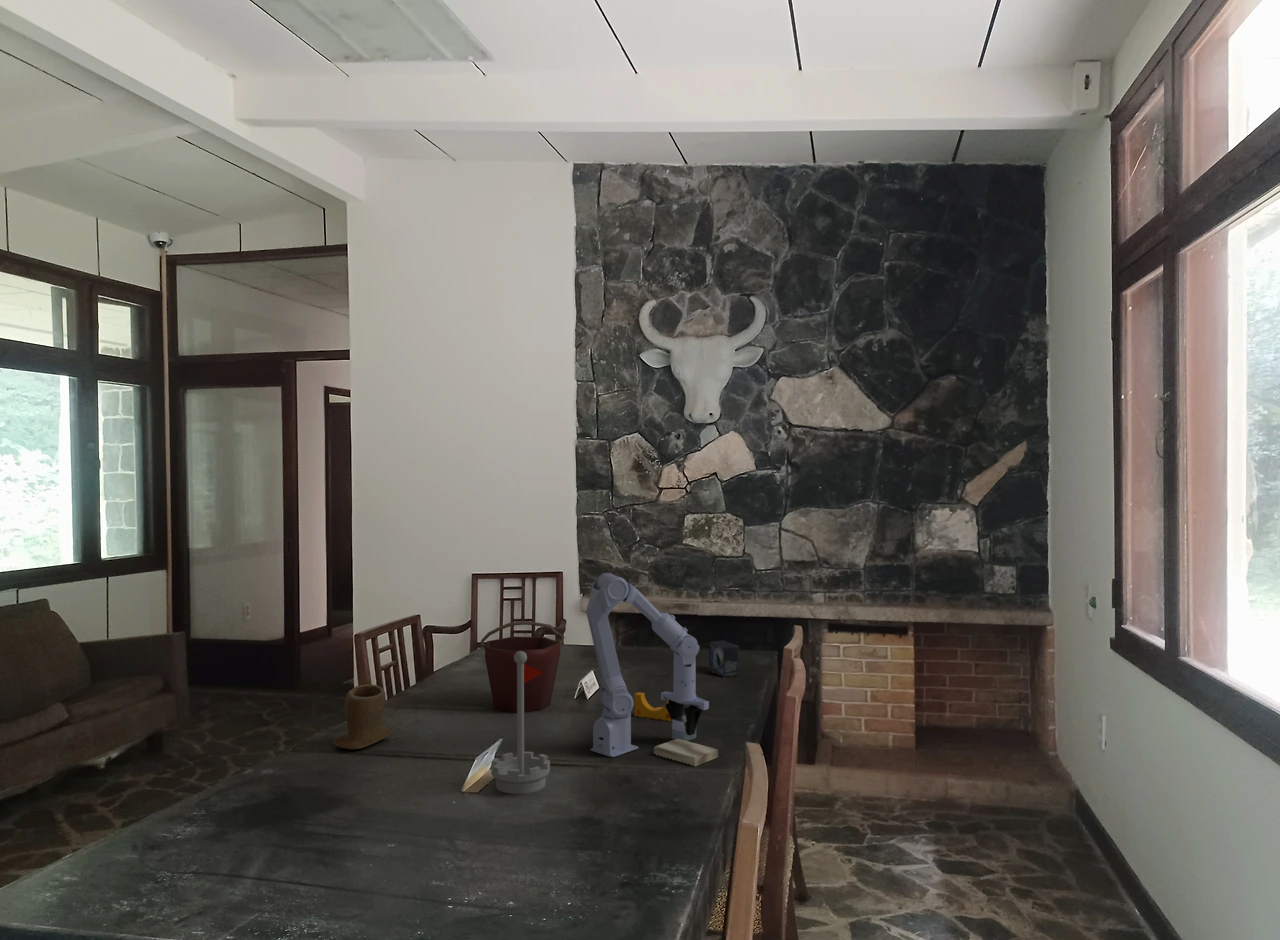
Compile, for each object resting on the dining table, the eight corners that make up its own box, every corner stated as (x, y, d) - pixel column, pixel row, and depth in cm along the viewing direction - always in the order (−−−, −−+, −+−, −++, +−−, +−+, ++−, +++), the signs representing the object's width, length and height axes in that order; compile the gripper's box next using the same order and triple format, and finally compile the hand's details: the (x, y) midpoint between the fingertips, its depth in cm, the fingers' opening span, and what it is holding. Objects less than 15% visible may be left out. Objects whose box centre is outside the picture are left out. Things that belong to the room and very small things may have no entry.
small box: (707, 671, 304) (707, 641, 304) (723, 669, 307) (723, 639, 307) (722, 678, 295) (722, 647, 295) (739, 676, 297) (739, 645, 297)
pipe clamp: (679, 717, 248) (679, 695, 248) (673, 722, 244) (673, 698, 244) (640, 713, 253) (640, 690, 253) (634, 716, 249) (634, 694, 249)
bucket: (568, 697, 270) (568, 616, 270) (555, 717, 248) (554, 629, 248) (491, 695, 273) (491, 615, 273) (471, 715, 251) (470, 628, 251)
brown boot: (362, 756, 215) (362, 695, 215) (327, 749, 221) (326, 689, 221) (404, 738, 229) (404, 681, 229) (370, 732, 234) (370, 677, 234)
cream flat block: (695, 766, 207) (694, 758, 207) (654, 754, 216) (654, 746, 216) (718, 757, 214) (718, 748, 214) (677, 745, 223) (677, 737, 223)
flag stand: (494, 798, 188) (494, 659, 188) (488, 777, 200) (488, 647, 200) (554, 792, 191) (554, 655, 191) (544, 772, 204) (544, 643, 204)
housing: (684, 741, 222) (684, 722, 222) (672, 738, 225) (672, 719, 225) (696, 737, 226) (696, 718, 226) (684, 734, 229) (684, 715, 229)
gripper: (716, 681, 224) (716, 734, 224) (673, 672, 233) (672, 723, 233) (699, 686, 218) (698, 741, 218) (655, 677, 228) (655, 729, 228)
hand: (684, 732), depth 226 cm, fingers closed on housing, 4 cm apart
